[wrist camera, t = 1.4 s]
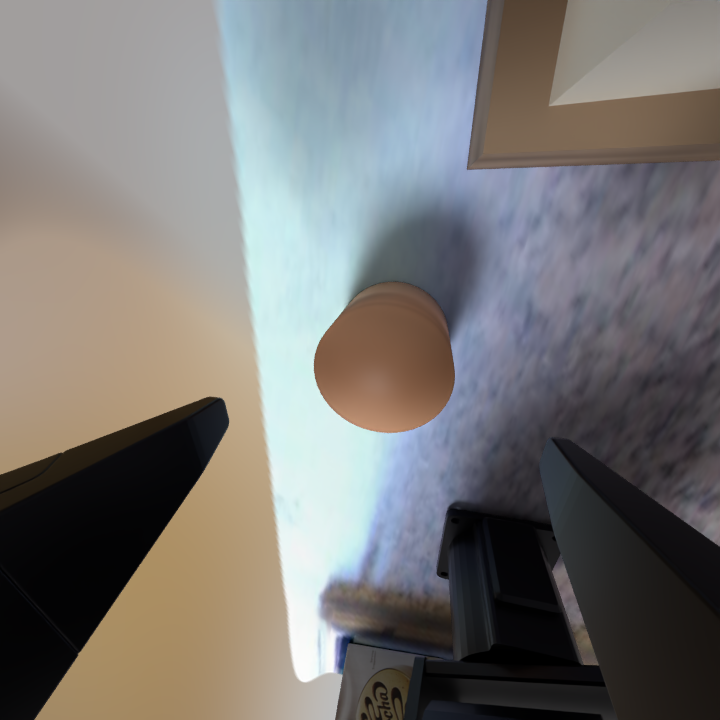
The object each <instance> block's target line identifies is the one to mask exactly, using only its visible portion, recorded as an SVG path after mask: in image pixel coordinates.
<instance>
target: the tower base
mask: <svg viewBox="0 0 720 720" xmlns="http://www.w3.org/2000/svg"><path fill="white" fill-rule="evenodd" d="M567 3H568V0H488V1H487V10H486V18H485V26H484V34H483V42H482V50H481V58H480V66H479V75H478V83H477V91H476V99H475V107H474V115H473V123H472V132H471V140H470V148H469V156H468V164H467V170H473V169H500V168H527V167H554V166H581V165H608V164H635V163H661V162H688V161H715V160H720V88H718V89H708V90H699V91H689V92H680V93H670V94H661V95H651V96H642V97H632V98H622V99H613V100H603V101H594V102H584V103H575V104H565V105H556V106H549V101H550V95H551V90H552V85H553V79H554V74H555V68H556V63H557V57H558V52H559V46H560V41H561V36H562V30H563V25H564V19H565V14H566V8H567Z"/></svg>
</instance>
